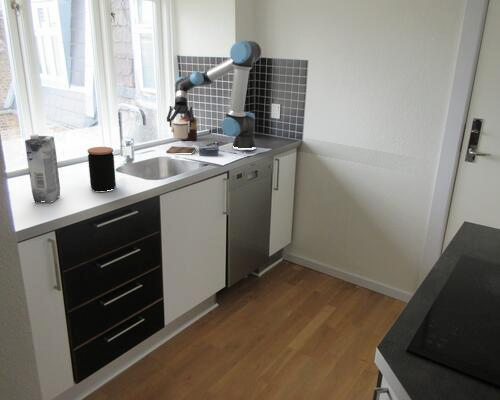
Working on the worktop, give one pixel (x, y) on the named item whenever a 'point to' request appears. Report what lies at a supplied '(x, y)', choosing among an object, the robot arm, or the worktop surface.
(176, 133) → the teacup with lid
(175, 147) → the walnut board
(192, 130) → the vase
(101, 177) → the coffee jar
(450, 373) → the worktop surface
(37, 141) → the juice carton
